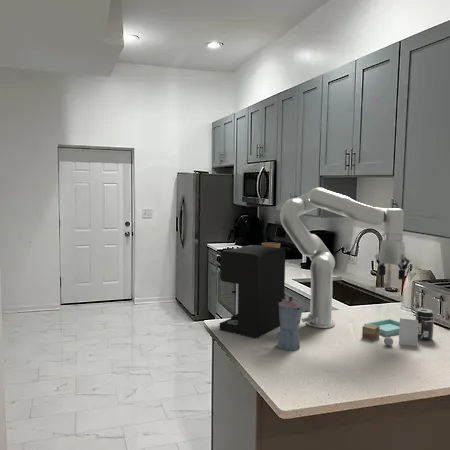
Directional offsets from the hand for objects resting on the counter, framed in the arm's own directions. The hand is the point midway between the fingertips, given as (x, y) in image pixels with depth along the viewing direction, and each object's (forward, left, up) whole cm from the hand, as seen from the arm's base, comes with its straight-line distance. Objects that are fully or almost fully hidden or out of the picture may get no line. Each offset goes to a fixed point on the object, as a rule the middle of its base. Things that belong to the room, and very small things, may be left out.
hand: (391, 277), depth 196 cm
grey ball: (-14, -12, -24) cm, 30 cm away
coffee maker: (-47, +34, -24) cm, 63 cm away
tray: (+2, +2, -24) cm, 24 cm away
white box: (-5, -14, -24) cm, 28 cm away
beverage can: (+6, -13, -24) cm, 28 cm away
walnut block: (-13, -2, -24) cm, 28 cm away
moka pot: (-50, +6, -24) cm, 56 cm away
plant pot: (+56, +166, -24) cm, 177 cm away
